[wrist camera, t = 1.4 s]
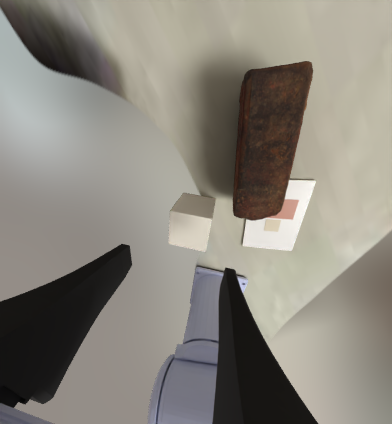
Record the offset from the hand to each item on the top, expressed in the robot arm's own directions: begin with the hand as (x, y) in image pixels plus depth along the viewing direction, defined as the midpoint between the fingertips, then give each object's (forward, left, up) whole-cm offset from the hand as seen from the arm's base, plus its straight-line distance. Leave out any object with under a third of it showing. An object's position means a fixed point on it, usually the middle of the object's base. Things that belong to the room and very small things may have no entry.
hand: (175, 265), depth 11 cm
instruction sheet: (+1, -9, -9) cm, 13 cm away
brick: (+7, -5, -9) cm, 13 cm away
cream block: (0, 0, -9) cm, 9 cm away
